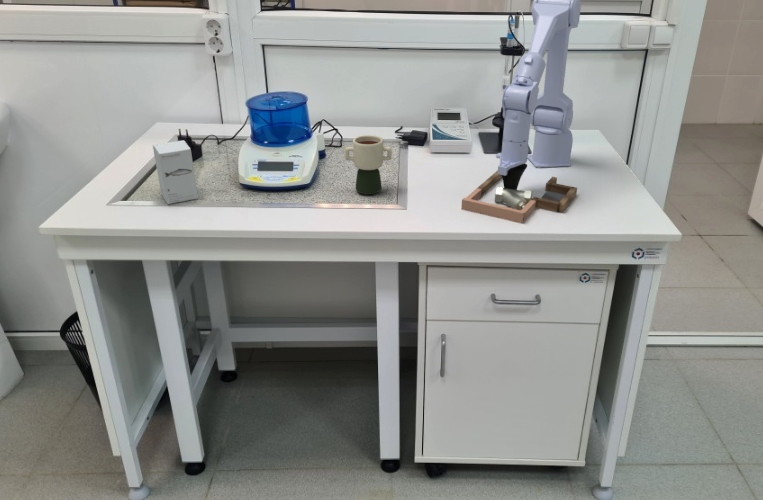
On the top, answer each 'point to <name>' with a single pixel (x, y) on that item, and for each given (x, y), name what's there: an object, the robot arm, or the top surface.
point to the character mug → (368, 162)
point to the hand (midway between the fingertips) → (510, 193)
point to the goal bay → (496, 208)
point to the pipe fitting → (513, 197)
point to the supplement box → (175, 171)
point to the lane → (551, 200)
